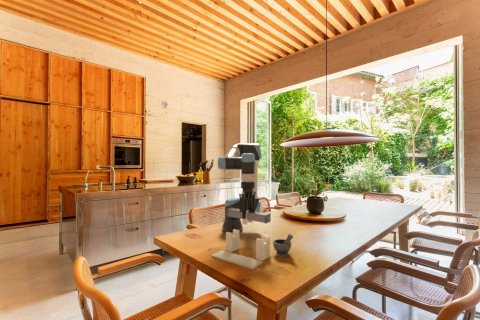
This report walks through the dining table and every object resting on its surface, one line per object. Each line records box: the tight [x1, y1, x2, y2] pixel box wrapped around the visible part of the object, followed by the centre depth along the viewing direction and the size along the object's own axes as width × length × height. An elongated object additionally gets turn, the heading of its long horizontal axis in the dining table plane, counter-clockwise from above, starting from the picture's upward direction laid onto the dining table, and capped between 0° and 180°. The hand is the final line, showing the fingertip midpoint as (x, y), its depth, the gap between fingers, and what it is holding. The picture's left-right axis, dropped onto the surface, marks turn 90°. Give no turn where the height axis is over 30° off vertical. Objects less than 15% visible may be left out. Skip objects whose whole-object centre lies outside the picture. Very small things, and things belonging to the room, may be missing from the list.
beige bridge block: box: [225, 229, 240, 253], centre depth 139 cm, size 4×8×10 cm, turn 145°
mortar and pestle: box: [272, 233, 294, 258], centre depth 132 cm, size 11×9×12 cm
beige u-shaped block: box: [255, 235, 271, 262], centre depth 128 cm, size 4×8×10 cm, turn 145°
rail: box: [226, 207, 272, 224], centre depth 134 cm, size 26×5×4 cm, turn 55°
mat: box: [211, 249, 263, 270], centre depth 125 cm, size 26×9×1 cm, turn 55°
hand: (247, 223), depth 134 cm, fingers closed on rail, 4 cm apart
